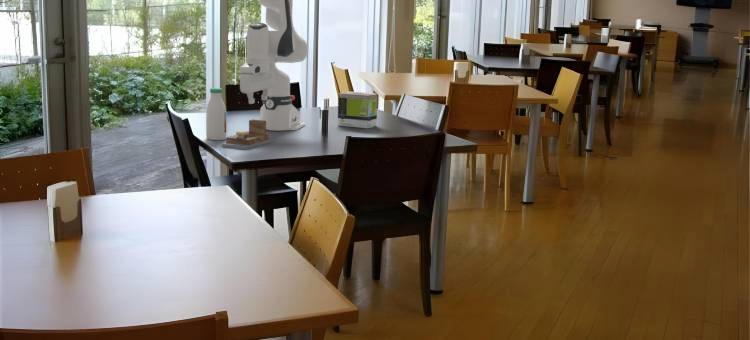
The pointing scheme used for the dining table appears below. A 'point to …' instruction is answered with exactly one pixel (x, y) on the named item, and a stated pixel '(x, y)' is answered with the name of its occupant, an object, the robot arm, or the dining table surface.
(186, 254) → the dining table surface
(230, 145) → the boss board
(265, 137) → the wooden stepped block
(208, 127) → the milk bottle
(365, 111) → the tea box
